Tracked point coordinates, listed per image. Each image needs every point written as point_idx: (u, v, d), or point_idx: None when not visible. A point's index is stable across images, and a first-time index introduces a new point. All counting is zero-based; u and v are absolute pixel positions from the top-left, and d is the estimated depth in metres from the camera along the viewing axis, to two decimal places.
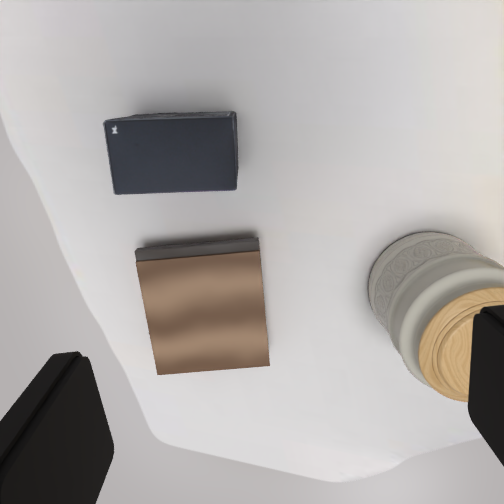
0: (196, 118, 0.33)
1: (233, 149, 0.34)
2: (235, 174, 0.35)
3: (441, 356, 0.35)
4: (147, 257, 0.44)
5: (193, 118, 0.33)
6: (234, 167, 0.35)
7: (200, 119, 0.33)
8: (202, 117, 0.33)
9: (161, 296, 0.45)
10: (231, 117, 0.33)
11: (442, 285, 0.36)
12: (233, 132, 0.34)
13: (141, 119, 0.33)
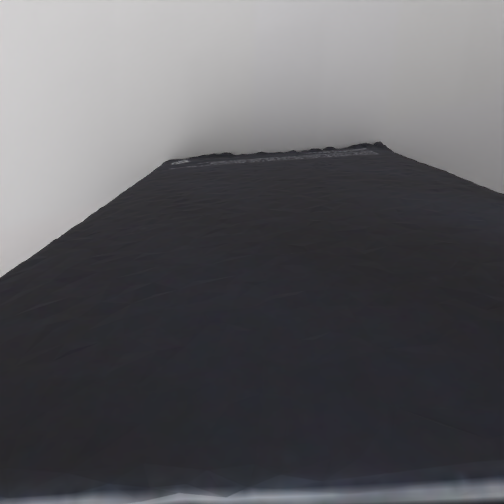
0: None
1: None
2: None
3: None
4: None
5: None
6: None
7: None
8: None
9: None
10: None
11: None
12: None
13: None
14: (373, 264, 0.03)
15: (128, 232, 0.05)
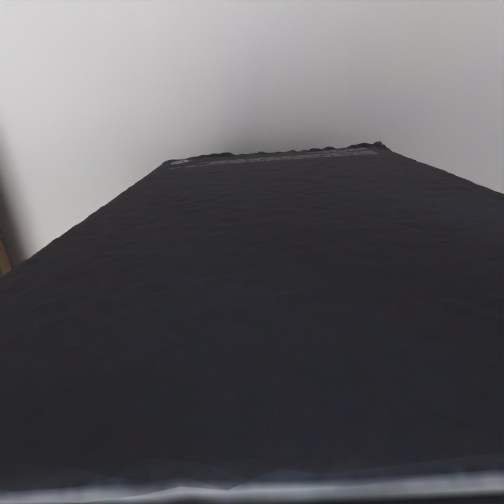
0: None
1: None
2: None
3: None
4: None
5: None
6: None
7: None
8: None
9: None
10: None
11: None
12: None
13: None
14: (372, 263, 0.03)
15: (128, 231, 0.05)
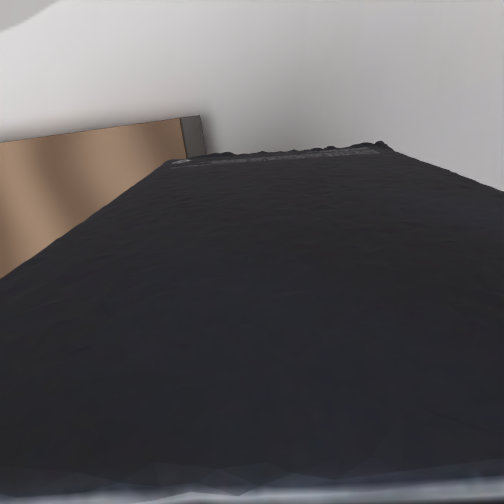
0: None
1: None
2: None
3: None
4: (188, 138, 0.25)
5: None
6: None
7: None
8: None
9: (118, 162, 0.25)
10: None
11: None
12: None
13: None
14: (379, 263, 0.03)
15: (131, 231, 0.05)
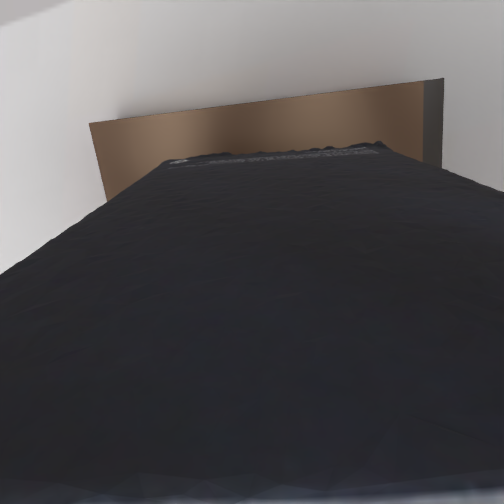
0: None
1: None
2: None
3: None
4: (425, 110, 0.18)
5: None
6: None
7: None
8: None
9: (325, 143, 0.18)
10: None
11: None
12: None
13: None
14: (375, 264, 0.03)
15: (125, 232, 0.05)
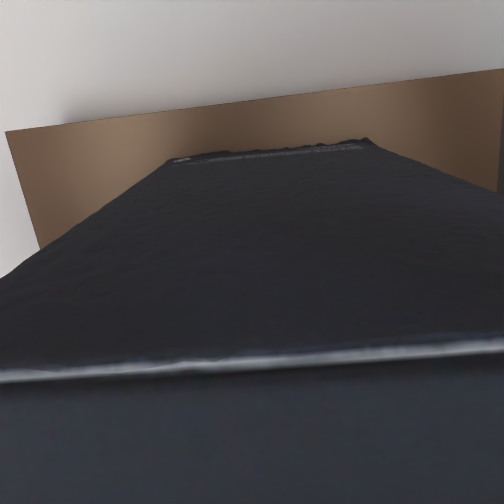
0: None
1: None
2: None
3: None
4: (503, 113, 0.12)
5: None
6: None
7: None
8: None
9: None
10: None
11: None
12: None
13: None
14: (337, 232, 0.04)
15: (138, 216, 0.06)
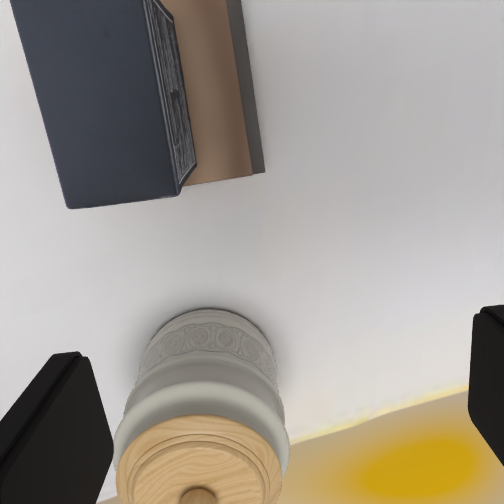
0: (167, 139, 0.21)
1: (129, 200, 0.22)
2: (92, 205, 0.22)
3: (190, 447, 0.26)
4: (229, 1, 0.29)
5: (166, 134, 0.21)
6: (102, 203, 0.22)
7: (166, 145, 0.21)
8: (170, 148, 0.21)
9: None
10: (176, 193, 0.22)
11: (267, 415, 0.29)
12: (155, 198, 0.22)
13: (151, 43, 0.20)
14: None
15: None
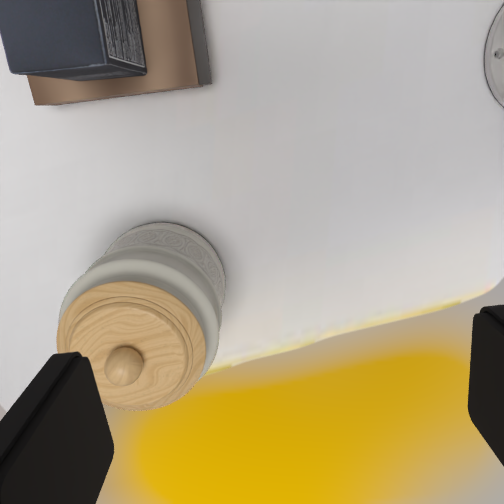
0: (94, 9, 0.24)
1: (64, 66, 0.25)
2: (31, 71, 0.25)
3: (119, 306, 0.30)
4: None
5: (94, 5, 0.24)
6: (40, 69, 0.25)
7: (94, 16, 0.24)
8: (98, 19, 0.24)
9: None
10: (104, 62, 0.25)
11: (196, 294, 0.33)
12: (86, 65, 0.25)
13: None
14: None
15: None
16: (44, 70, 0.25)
